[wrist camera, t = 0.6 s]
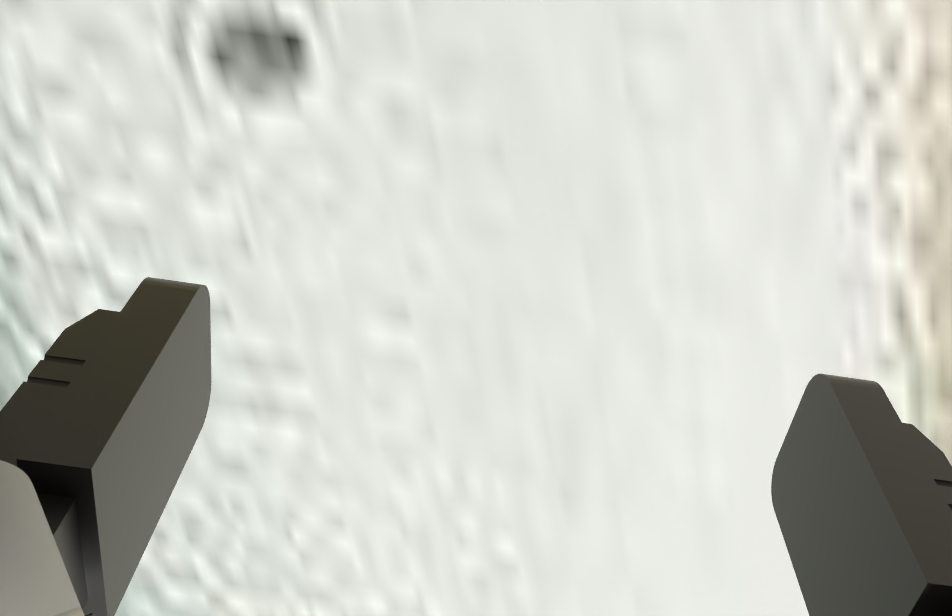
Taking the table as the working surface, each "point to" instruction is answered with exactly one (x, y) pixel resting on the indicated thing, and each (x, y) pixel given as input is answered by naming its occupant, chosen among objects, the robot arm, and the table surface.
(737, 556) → the table surface
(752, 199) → the table surface
